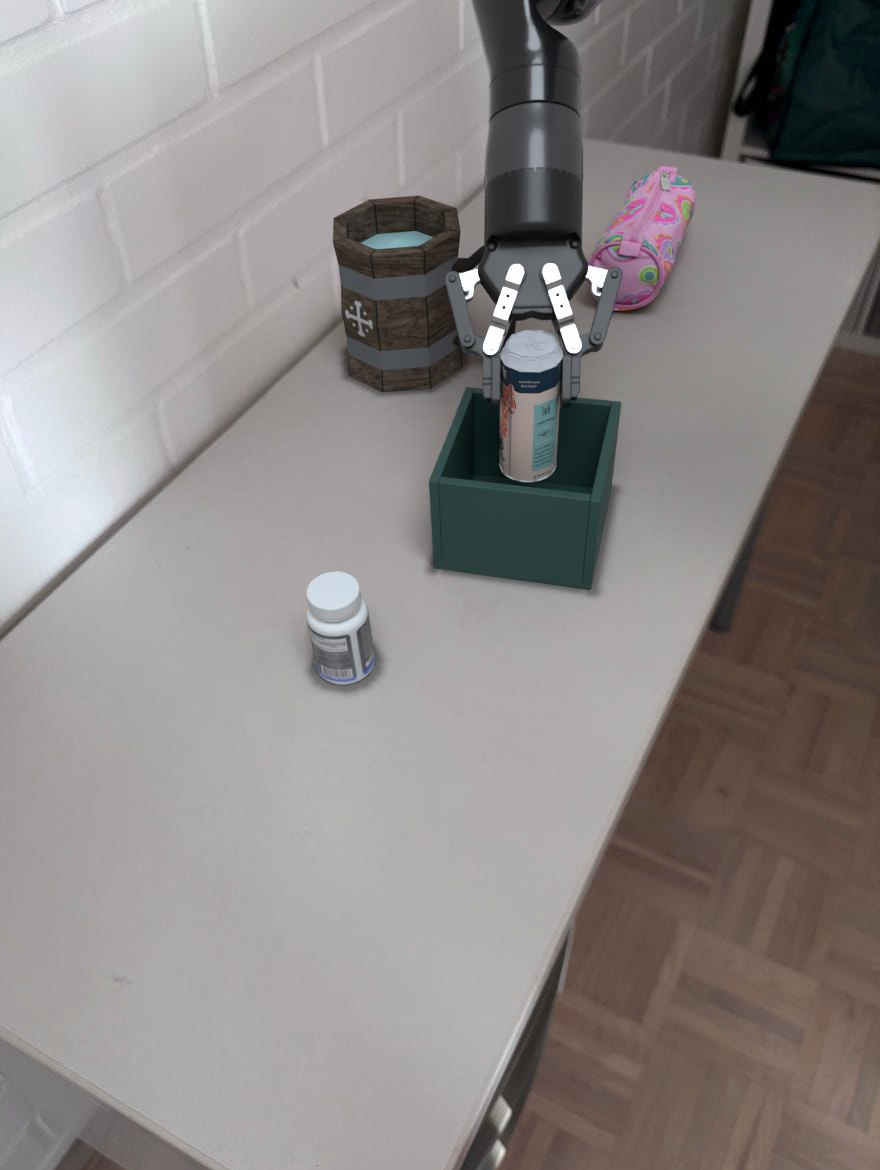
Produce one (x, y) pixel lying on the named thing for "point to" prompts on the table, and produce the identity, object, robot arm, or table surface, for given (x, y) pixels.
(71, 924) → the table surface
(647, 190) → the pencil case
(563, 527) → the bin
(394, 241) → the mug
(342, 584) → the pill bottle
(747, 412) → the table surface
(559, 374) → the beer can
